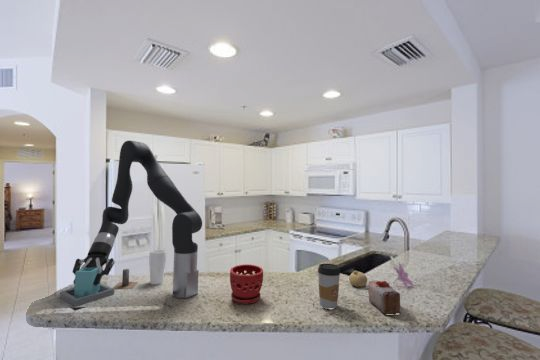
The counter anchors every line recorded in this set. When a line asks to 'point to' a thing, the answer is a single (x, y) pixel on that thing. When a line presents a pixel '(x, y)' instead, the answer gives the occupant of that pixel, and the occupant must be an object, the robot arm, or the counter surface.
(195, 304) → the counter surface
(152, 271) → the drinking glass
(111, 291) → the charcoal tray
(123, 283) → the square wooden base
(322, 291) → the coffee cup
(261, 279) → the plant pot
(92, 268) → the teal sleeve
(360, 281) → the onion
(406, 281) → the lily
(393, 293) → the food item
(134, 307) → the counter surface
